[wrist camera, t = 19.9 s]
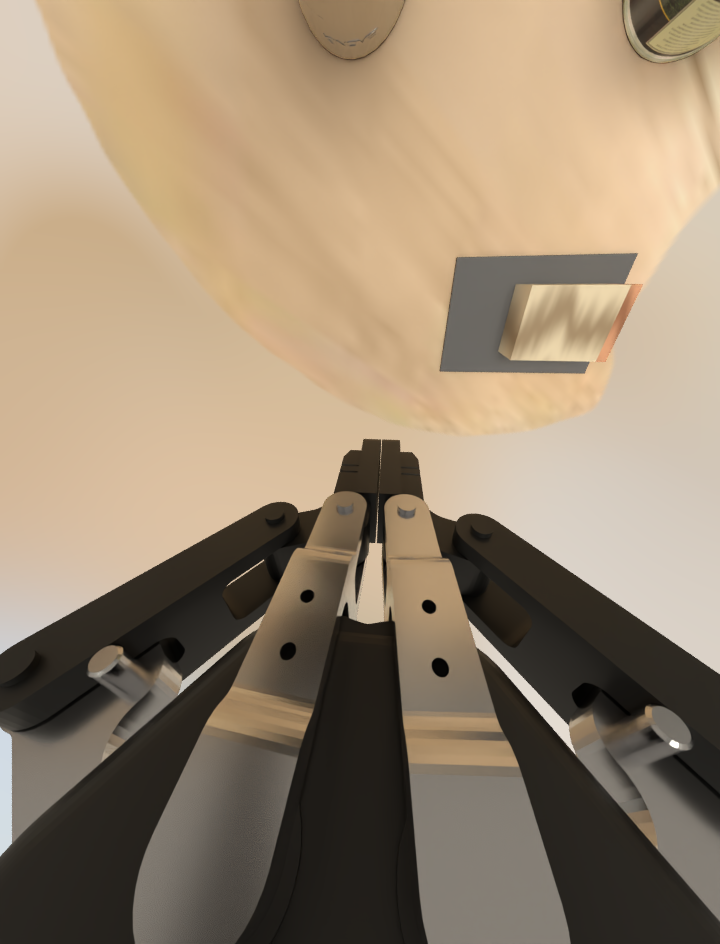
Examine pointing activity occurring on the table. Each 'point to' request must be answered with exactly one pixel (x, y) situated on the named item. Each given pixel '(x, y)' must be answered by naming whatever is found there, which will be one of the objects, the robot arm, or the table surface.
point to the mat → (489, 297)
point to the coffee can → (671, 27)
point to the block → (566, 321)
